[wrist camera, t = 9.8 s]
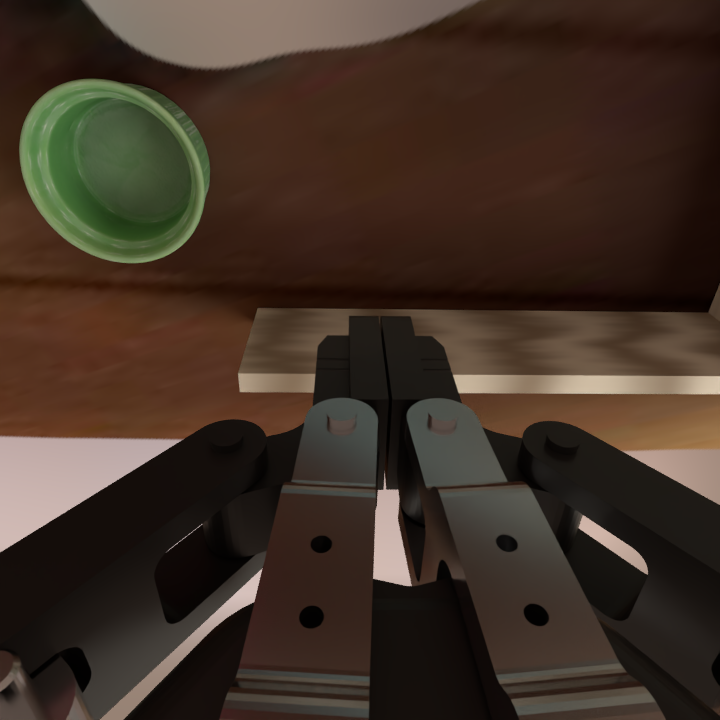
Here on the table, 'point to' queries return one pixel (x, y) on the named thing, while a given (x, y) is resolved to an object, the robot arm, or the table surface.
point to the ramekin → (115, 169)
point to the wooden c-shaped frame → (511, 349)
